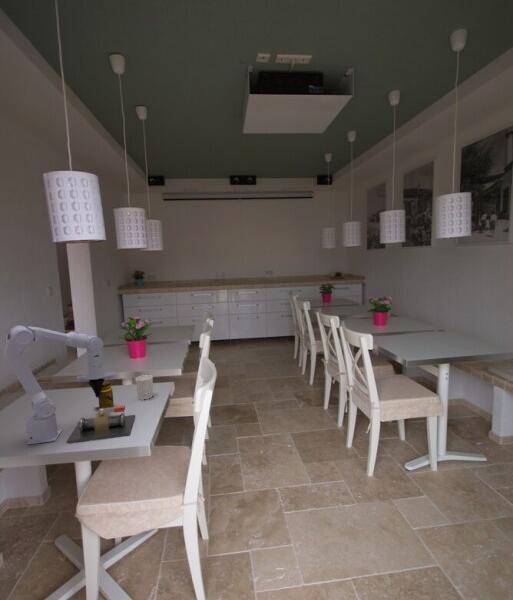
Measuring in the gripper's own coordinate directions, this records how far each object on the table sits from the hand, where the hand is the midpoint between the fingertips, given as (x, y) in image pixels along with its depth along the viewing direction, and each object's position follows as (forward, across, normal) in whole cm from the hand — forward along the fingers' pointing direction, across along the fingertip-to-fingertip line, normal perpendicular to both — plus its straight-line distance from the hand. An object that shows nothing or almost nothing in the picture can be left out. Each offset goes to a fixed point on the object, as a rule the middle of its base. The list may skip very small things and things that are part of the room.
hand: (98, 396), depth 145 cm
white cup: (+11, -16, -20) cm, 28 cm away
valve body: (+10, -3, +9) cm, 14 cm away
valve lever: (+3, -7, +9) cm, 12 cm away
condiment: (+11, +1, -12) cm, 16 cm away
